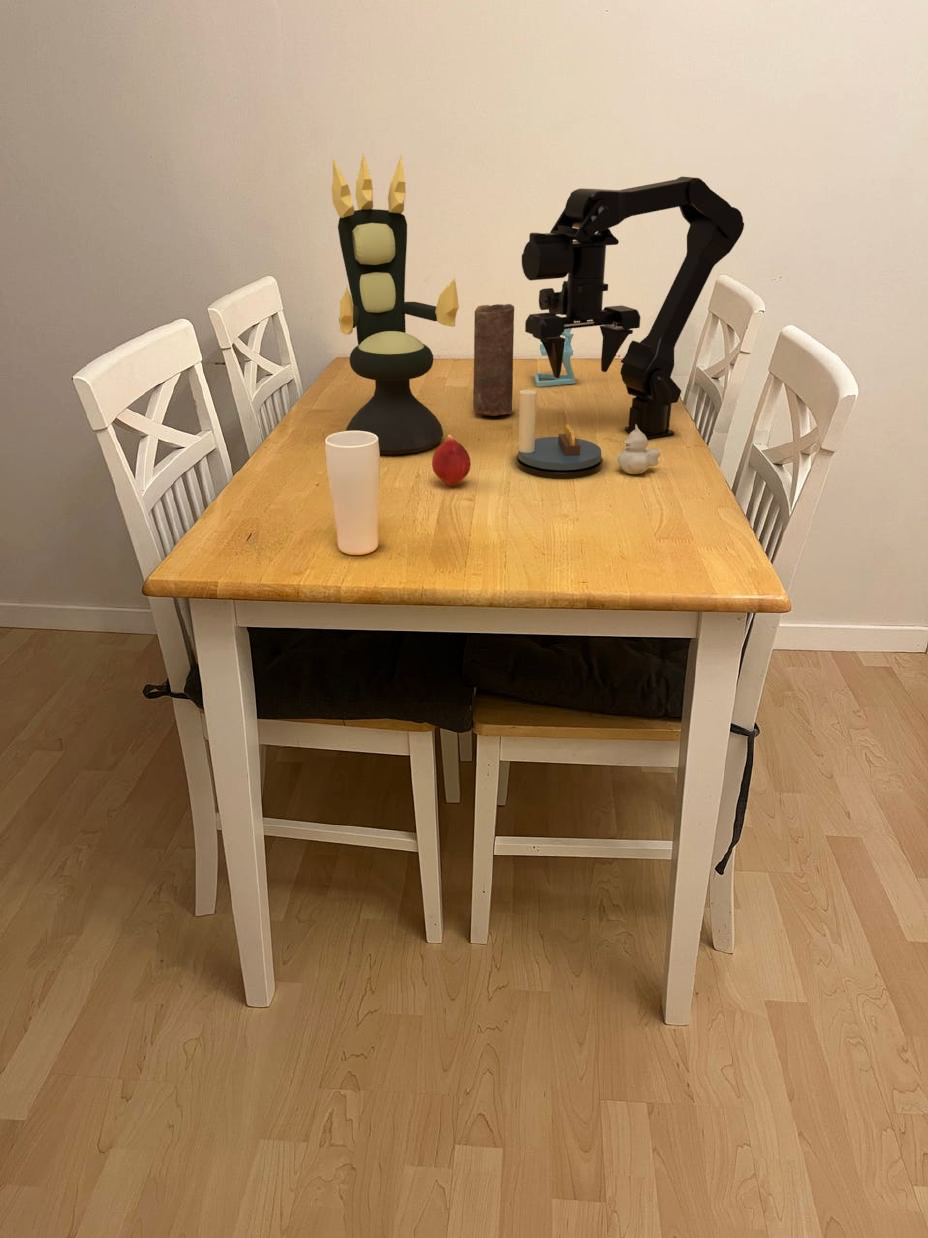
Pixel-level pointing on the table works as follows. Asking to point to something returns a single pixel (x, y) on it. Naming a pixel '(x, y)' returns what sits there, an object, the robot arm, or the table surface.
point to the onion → (451, 462)
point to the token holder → (551, 443)
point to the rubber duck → (637, 454)
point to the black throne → (385, 314)
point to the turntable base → (558, 471)
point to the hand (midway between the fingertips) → (580, 374)
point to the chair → (566, 362)
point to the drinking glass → (354, 489)
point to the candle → (493, 359)
